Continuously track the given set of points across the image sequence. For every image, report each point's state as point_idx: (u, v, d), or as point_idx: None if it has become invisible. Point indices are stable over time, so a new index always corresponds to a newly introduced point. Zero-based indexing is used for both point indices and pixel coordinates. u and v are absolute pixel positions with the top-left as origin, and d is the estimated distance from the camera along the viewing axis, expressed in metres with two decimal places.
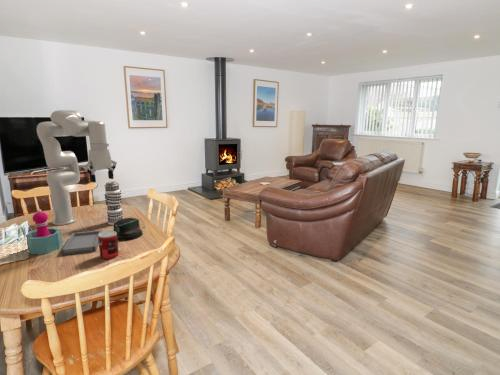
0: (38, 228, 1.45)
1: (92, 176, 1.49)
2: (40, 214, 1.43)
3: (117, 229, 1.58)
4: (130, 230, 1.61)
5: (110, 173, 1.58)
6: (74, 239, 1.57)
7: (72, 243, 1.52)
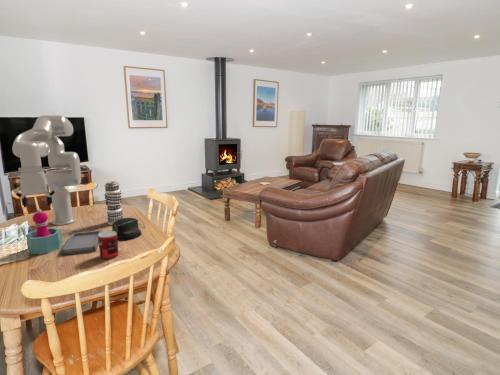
0: (38, 228, 1.45)
1: None
2: (40, 214, 1.43)
3: (116, 229, 1.58)
4: (129, 230, 1.62)
5: (26, 200, 1.42)
6: (74, 239, 1.57)
7: (72, 243, 1.52)
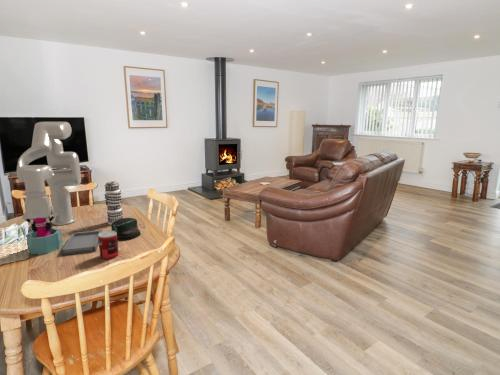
0: (38, 228, 1.44)
1: None
2: None
3: (115, 229, 1.58)
4: (128, 230, 1.62)
5: None
6: (74, 239, 1.57)
7: (72, 243, 1.52)
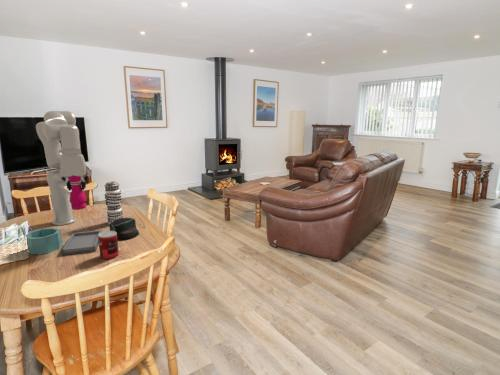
0: (73, 187, 1.45)
1: None
2: None
3: (113, 229, 1.58)
4: (126, 230, 1.62)
5: None
6: (74, 239, 1.57)
7: (72, 243, 1.52)
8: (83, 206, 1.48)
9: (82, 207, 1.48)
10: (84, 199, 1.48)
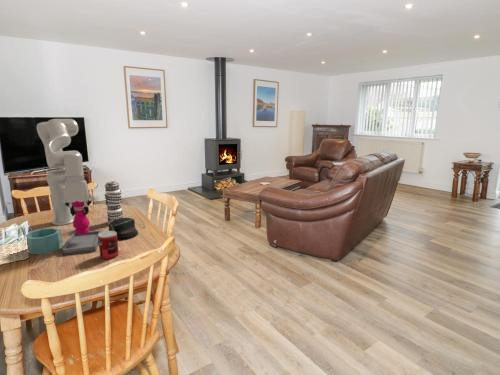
0: (76, 212, 1.48)
1: None
2: None
3: (112, 229, 1.58)
4: (125, 230, 1.62)
5: None
6: (74, 239, 1.57)
7: (72, 243, 1.52)
8: (86, 230, 1.51)
9: (85, 231, 1.51)
10: (87, 224, 1.51)
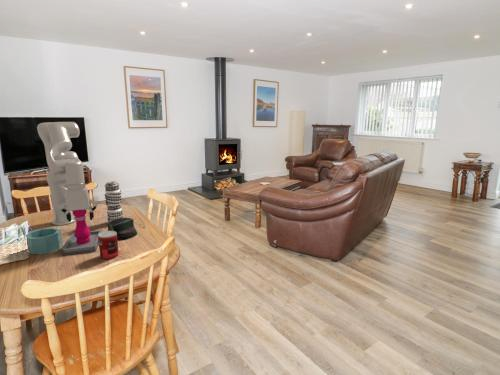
0: (78, 222, 1.49)
1: None
2: None
3: (111, 229, 1.58)
4: (124, 230, 1.62)
5: (70, 215, 1.50)
6: (74, 239, 1.57)
7: (72, 243, 1.52)
8: (87, 240, 1.52)
9: (86, 241, 1.52)
10: (88, 233, 1.52)
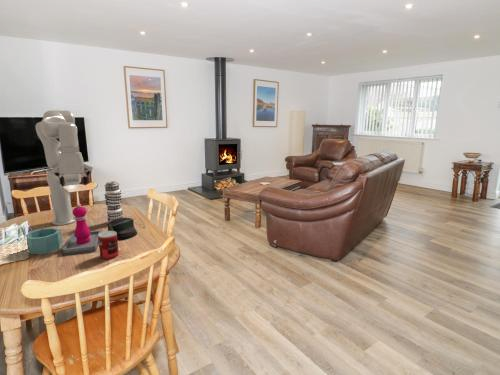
0: (78, 222, 1.49)
1: None
2: (80, 208, 1.48)
3: (111, 228, 1.58)
4: (124, 230, 1.62)
5: (63, 179, 1.46)
6: (74, 239, 1.57)
7: (72, 243, 1.52)
8: (87, 240, 1.52)
9: (86, 241, 1.52)
10: (88, 233, 1.52)
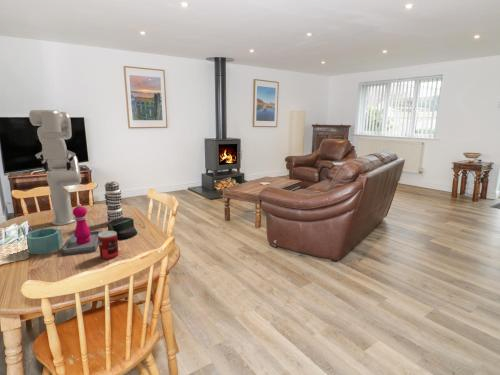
0: (78, 222, 1.49)
1: None
2: (80, 208, 1.48)
3: (111, 228, 1.59)
4: (124, 230, 1.62)
5: (47, 164, 1.52)
6: (74, 239, 1.57)
7: (72, 243, 1.52)
8: (87, 240, 1.52)
9: (86, 241, 1.52)
10: (88, 233, 1.52)
